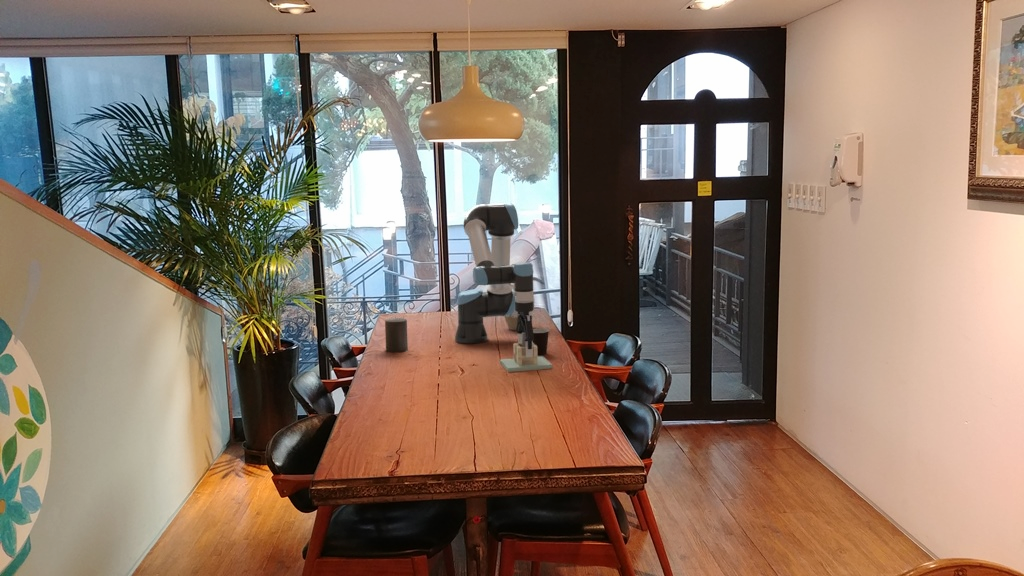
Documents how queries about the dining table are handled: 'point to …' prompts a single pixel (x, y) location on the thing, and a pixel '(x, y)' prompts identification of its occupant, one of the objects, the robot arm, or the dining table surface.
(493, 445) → the dining table surface
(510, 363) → the rod stand
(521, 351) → the wooden square ring
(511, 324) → the vase
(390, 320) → the pillar candle
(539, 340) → the coffee mug
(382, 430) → the dining table surface
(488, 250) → the robot arm
